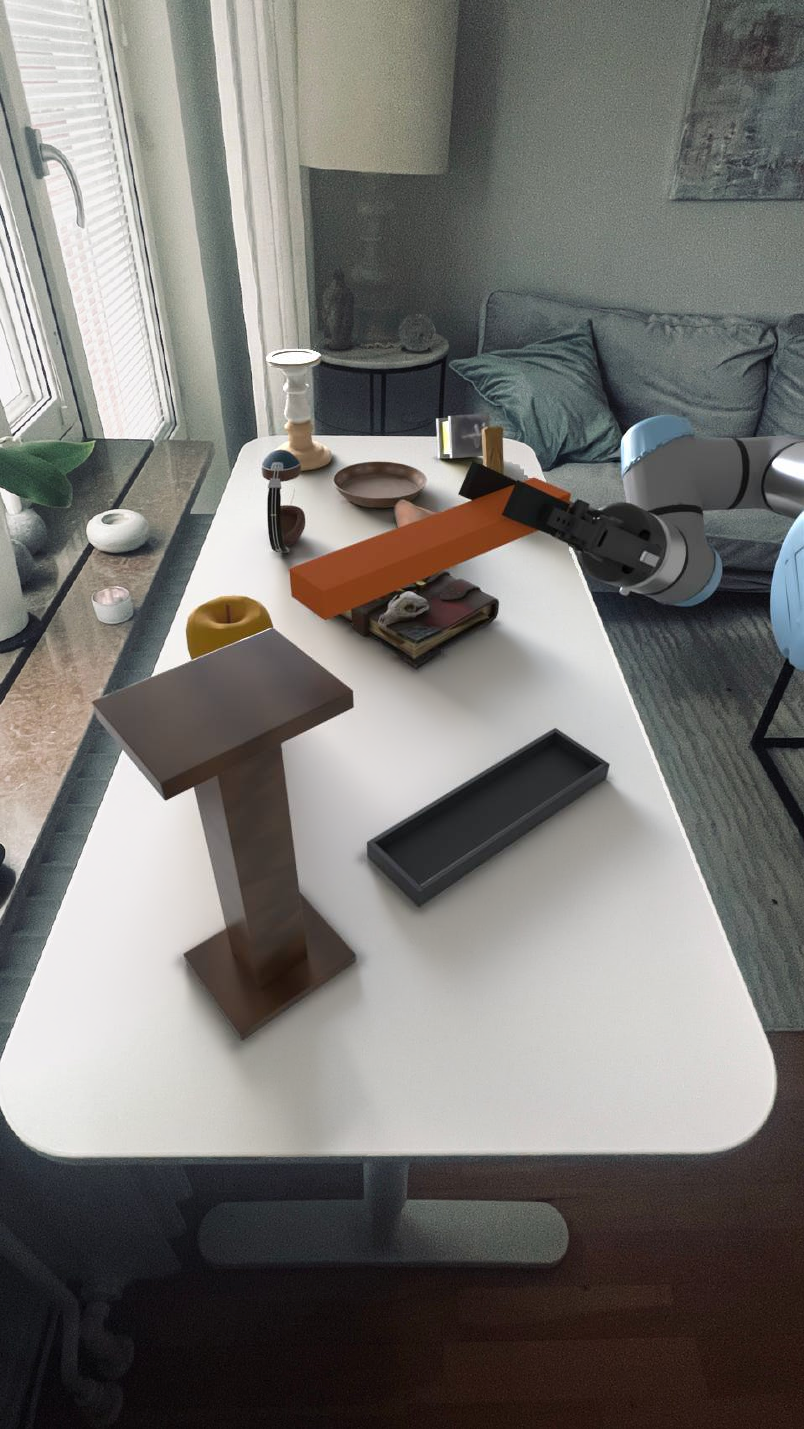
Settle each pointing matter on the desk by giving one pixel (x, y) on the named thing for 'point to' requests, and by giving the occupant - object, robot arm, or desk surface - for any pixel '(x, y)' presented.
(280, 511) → the headphones
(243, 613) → the apple
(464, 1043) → the desk surface
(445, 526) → the orange long flat bar
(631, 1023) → the desk surface
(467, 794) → the tray
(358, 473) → the plant saucer
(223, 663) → the stand
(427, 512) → the sunglasses case
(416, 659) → the book
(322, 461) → the candle holder
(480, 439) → the desk lamp
